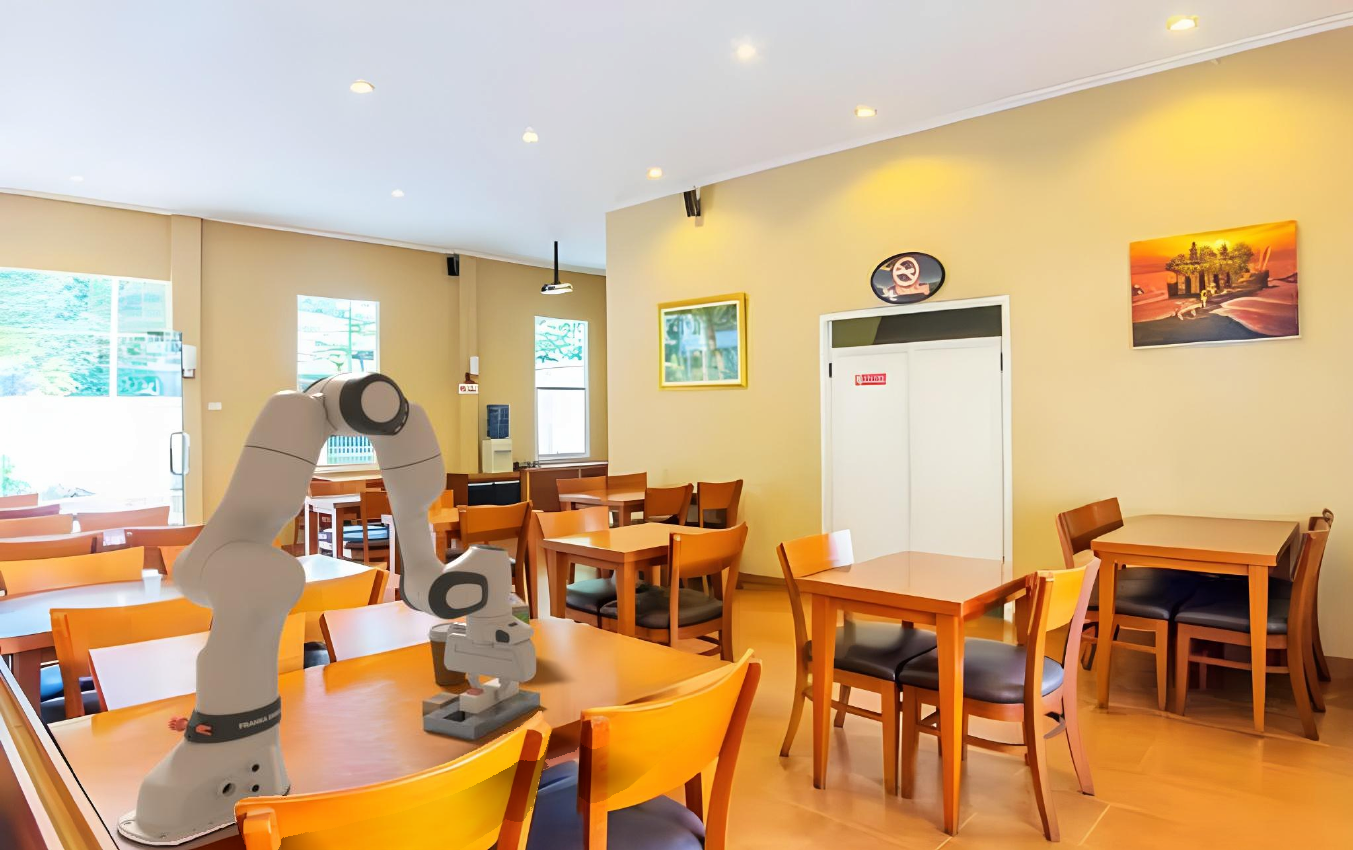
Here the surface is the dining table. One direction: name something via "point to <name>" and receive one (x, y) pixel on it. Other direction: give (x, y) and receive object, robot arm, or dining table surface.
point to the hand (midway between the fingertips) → (489, 697)
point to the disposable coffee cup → (442, 656)
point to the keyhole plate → (479, 716)
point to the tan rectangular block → (438, 702)
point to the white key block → (484, 697)
